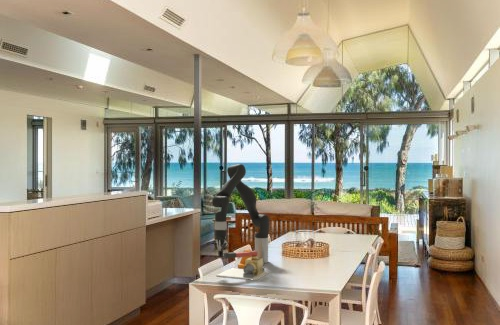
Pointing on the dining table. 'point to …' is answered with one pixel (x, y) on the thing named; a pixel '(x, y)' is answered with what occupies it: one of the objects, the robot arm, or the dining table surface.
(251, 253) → the lever
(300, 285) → the dining table surface
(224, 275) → the base plate
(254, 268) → the valve
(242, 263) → the bracket
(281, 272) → the dining table surface
